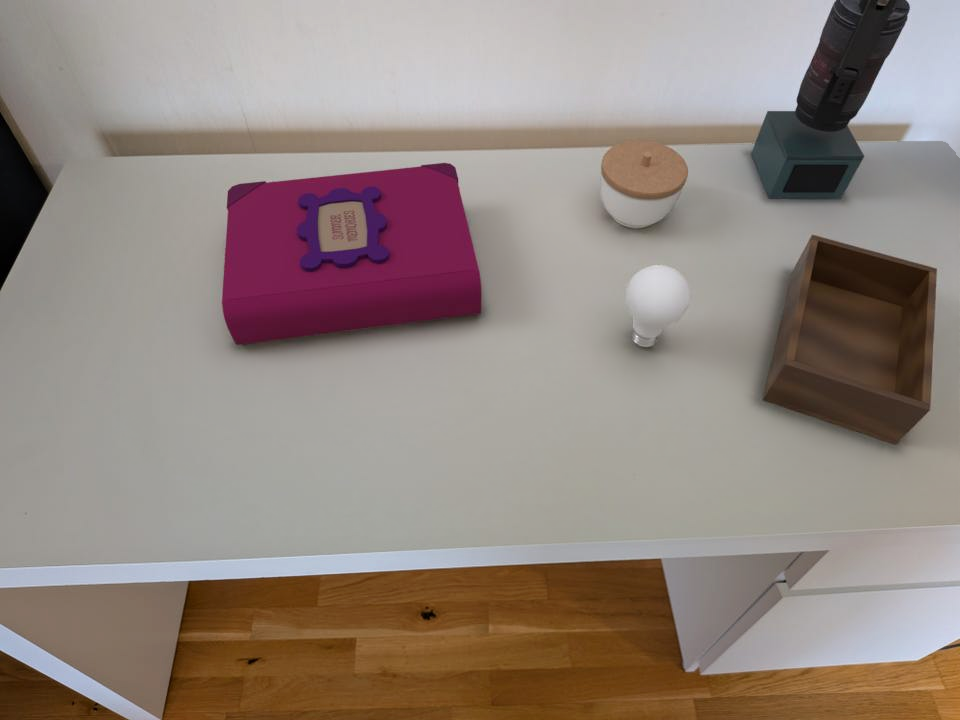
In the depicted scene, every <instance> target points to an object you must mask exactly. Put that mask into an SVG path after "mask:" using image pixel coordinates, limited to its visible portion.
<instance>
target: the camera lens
mask: <svg viewBox="0 0 960 720" xmlns="http://www.w3.org/2000/svg"><path fill="white" fill-rule="evenodd" d="M868 1H869V0H868ZM859 2H860V0H835V1H834V2H833V3H832V7H831V9H830V11H829V14H828V16H827V18H826V21H825V23H824V26H823V28H822V31H821V34H820V37H819V42H818V44H817V47H816V49H815V51H814V54H813V55H812V58H811V60H810V63H809V65H808V67H807V69H806V71H805V74H804V76H803V78H802V80H801V82H800V86H799V90H798V94H797V96H796V104H797V105H796V107H795V110H794V111H795V115H796V117H797V119H798V120H799V121H800V122H801V123H802V124H804V125H805V126H807V127H809V128H812V129H814V130H818V131H823V132H837V131H840V130H843V129H844V128H845V127H846V126H849V124H850V122H851V120H853V119H854V118H855V117H856V116H857V115H858V114H859V111H860V110H861V108H862V107H863V105H864V104H865V102H866V100H867V98H868V96H869V94H870V92H871V90H872V89H873V86H874V84H875V81H876V79H877V78H878V75H879V74H880V72H881V69H882V68H883V66H884V64H885V62H886V60H887V58H888V57H889V56H890V54H891V53H892V51H893V49H894V47H895V45H896V44H897V41H898V39H899V37H900V36H901V33H902V31H903V30H904V27H905V26H906V23H907V22H908V18H909V17H908V15H909V13H910V10H911V5H910V3H909V1H907V0H897V1H896V3H895V5H894V8H893V10H892V11H891V13H890V15H889V17H888V20H887V22H886V24H885V26H884V28H883V30H882V33H881V35H880V37H879V39H878V41H877V43H876V45H875V48H874V50H873V52H872V54H871V56H870V58H869V61H868V63H867V65H866V67H865V69H864V71H863V76H862V78H861V79H860V80H859V81H856V83H855V85H854V87H853V89H852V91H851V93H850V95H849V97H848V99H847V101H846V103H845V105H844V107H843V109H842V111H841V113H840V115H839V118H838V120H837V122H836V124H835V125H831V124H826V123H822V122H818V121H814V120H812V119H813V116H814V114H815V111H816V109H817V107H818V105H819V103H820V100H821V98H822V96H823V94H824V91H825V89H826V87H827V85H828V83H829V80H830V78H831V76H832V74H833V73H829V70H830V67H835V68H836V67H837V66H838V65H839V63H840V60H841V58H842V56H843V53H844V51H845V49H846V46H847V44H848V42H849V40H850V38H851V35H852V33H853V31H854V29H855V26H856V24H857V22H858V24H859V22H860V20H861V17H862V15H863V14H861V8H860V7H859Z"/></svg>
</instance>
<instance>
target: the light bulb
mask: <svg viewBox="0 0 960 720" xmlns="http://www.w3.org/2000/svg"><path fill="white" fill-rule="evenodd" d="M690 301H691V289H690V286H689V283H688V281H687V279H686V278H685V276H683V274H682V273H680V272H679V271H678V270H677V269H675V268H673V267H671V266H670V265H669V266H668V265H665V264H653V265H649V266H646V267H644V268H642V269H640V270H639V271H637V272H636V273H635V274H634V275H633V276H632V277H631V279H630V280H629V281H628V284H627V286H626V291H625V306H626V308H627V310H628V312H629V314H630V316H631V317H632V326H633V328H632V330H631V336H630V337H631V340H632V342H633V343H635V344H636V345H637V346H639V347H642V348H650V347H652V346H654V345H656V344H657V343H658V341H659V339H660V338H659V337H660V335H661V334H662V333H663V331H664V329H665V328H667V327H669V326H671V325H674V324H676V323H677V322H679V320H681V318H683V317H684V315H685V314H686V312H687V310H688V308H689V306H690Z"/></svg>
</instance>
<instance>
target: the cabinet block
mask: <svg viewBox="0 0 960 720" xmlns="http://www.w3.org/2000/svg"><path fill="white" fill-rule="evenodd" d="M759 129H760V130H759V132H758V134H757V137H756V139H755V142H754V145H753V147H752V149H751V153H750V155H751V158H752V160H753V162H754V165H755V168H756V170H757V172H758V173H757V174H758V175H759V177H760V180H761V182H762V185H763V188H764V190H765V192H766V195H767V198H768V199H769V200H770V199H772V200H773V199H774V200H775V199H777V200H779V199H781V200H782V199H784V200H785V199H791V200H792V199H796V200H797V199H809V200H810V199H812V200H813V199H814V200H815V199H816V200H818V199H821V200H822V199H824V200H827V199H831V200H832V199H834V200H836V199H837V200H838V199H839V200H840V199H842V198H843V196H844V194H845V192H846V191H847V189H848V187H849V185H850V184H851V182H852V180H853V178H854V176H855V175H856V172H857V170H858V169H859V167H860V165H861V163H862V161H863V160H864V158H865V155H864V153H863V151H862V149H861V147H860V146H859V143H858V141H857V139H856V138H855V136H854V135H853V132H852V131H851V130H850V128H849V125H847V126H846V127H845V128H844V129H843V130H840V131H837V132H823V131H818V130H814V129H812V128H809V127H807V126H805V125H804V124H802V123H801V122H800V121H799V120H798V119H797V117H796V115H795V110H767V111H766V114H765V116H764V119H763V121H762V124H761V127H760V128H759Z"/></svg>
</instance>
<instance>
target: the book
mask: <svg viewBox="0 0 960 720" xmlns="http://www.w3.org/2000/svg"><path fill="white" fill-rule="evenodd" d="M462 198H463V197H462V193H461V191H460V185H459V176H458V173H457V168H456V166H454V165H453V164H451V163H448V162H440V163H439V162H438V163H430V164H421V165H420V166H411V167H404V168H403V167H402V168H391V169H384V170H373V171H364V172H353V173H346V174H333V175H325V176H317V177H307V178H306V177H305V178H296V179H287V180H277V181H269V182H267V181H265V180H264V181H253V182H252V181H251V182H244V183H238V184H235V185H232V186H231V187H230V188H229V189H228V190H227V195H226V209H227V218H226V219H227V220H226V232H225V247H224V249H225V250H224V264H223V265H224V266H223V277H222V278H223V281H222V295H221V307H222V313H223V318H224V321H225V324H226V327H227V330H228V331H229V334H230V336H231V339H232V340H233V342H234V344H235V345H236V346H241V345H249V344H256V343H257V344H258V343H264V342H272V341H280V340H289V339H295V338H303V337H311V336H317V335H319V336H320V335H327V334H334V333H335V334H336V333H341V332H351V331H356V330H357V331H358V330H364V329H372V328H380V327H387V326H395V325H403V324H410V323H418V322H419V323H420V322H426V321H433V320H442V319H450V318H457V317H464V316H465V317H467V316H471V315H473V316H474V315H480V314H482V282H481V281H482V280H481V273H480V268H479V264H478V261H477V256H476V252H475V248H474V243H473V240H472V236H471V231H470V228H469V222H468V219H467V214H466V211H465V206H464V203H463V199H462Z"/></svg>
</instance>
